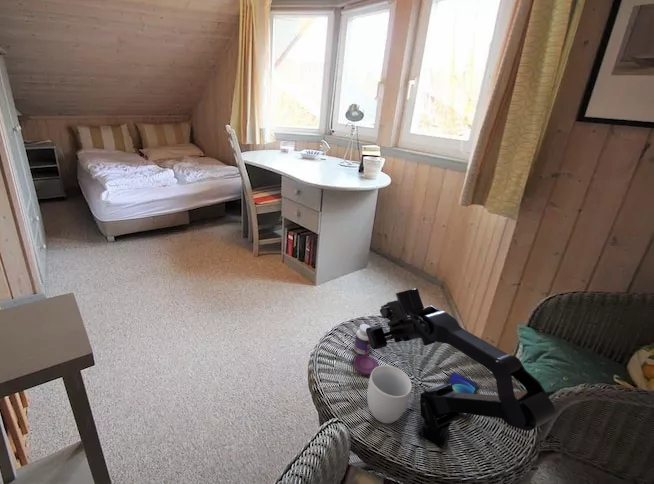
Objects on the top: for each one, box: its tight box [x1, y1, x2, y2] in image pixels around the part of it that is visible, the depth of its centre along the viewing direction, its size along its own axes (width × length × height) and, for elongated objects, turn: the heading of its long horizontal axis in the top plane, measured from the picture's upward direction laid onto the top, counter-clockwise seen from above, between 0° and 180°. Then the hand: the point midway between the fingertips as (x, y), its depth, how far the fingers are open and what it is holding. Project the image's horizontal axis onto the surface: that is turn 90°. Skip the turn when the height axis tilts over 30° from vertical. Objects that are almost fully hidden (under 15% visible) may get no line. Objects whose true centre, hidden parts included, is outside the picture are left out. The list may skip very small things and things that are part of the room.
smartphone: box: [447, 372, 478, 418], centre depth 108 cm, size 8×1×15 cm
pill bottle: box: [353, 323, 371, 356], centre depth 122 cm, size 5×5×10 cm
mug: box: [366, 364, 413, 424], centre depth 100 cm, size 15×11×13 cm
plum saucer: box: [353, 354, 380, 377], centre depth 117 cm, size 8×8×1 cm
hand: (380, 333), depth 112 cm, fingers open, 9 cm apart
